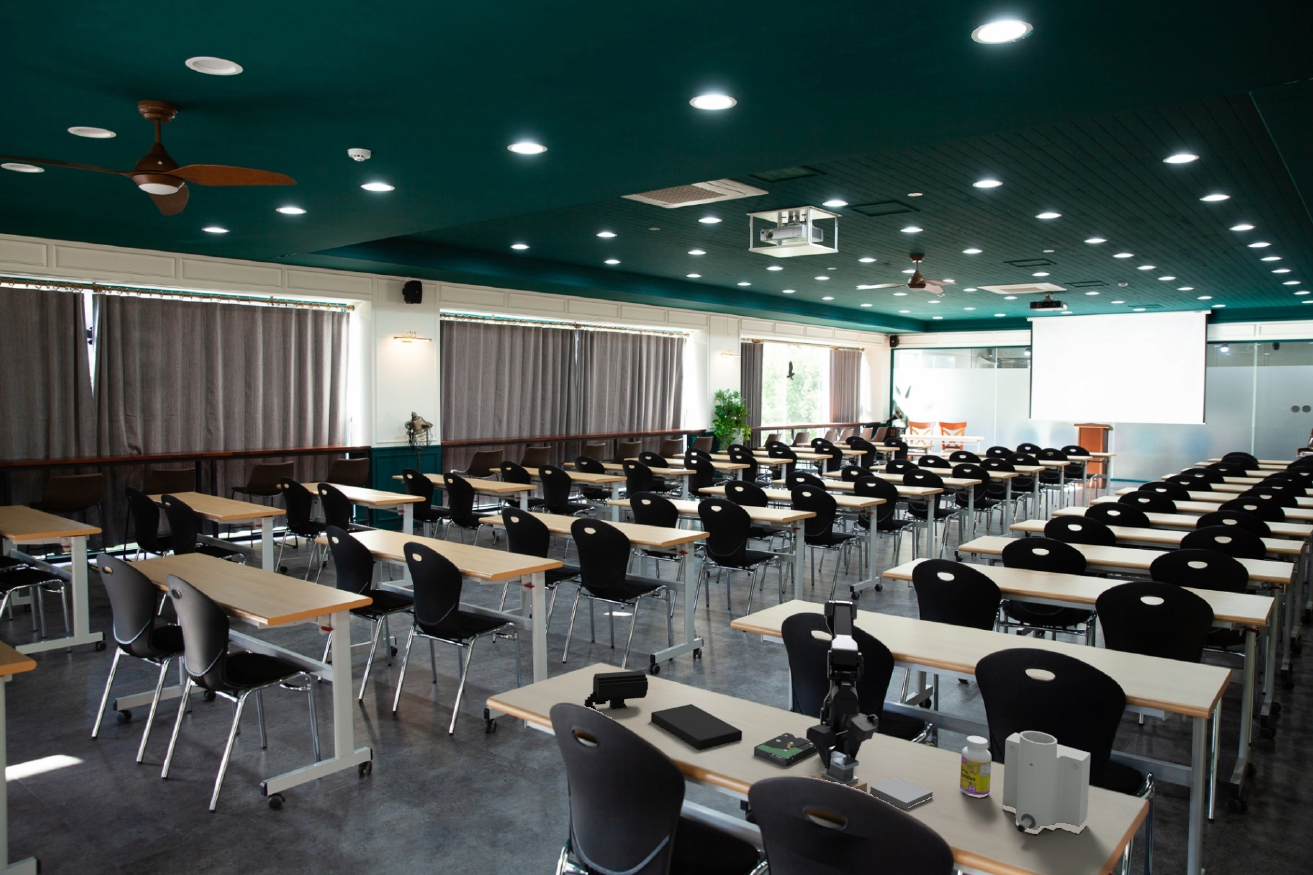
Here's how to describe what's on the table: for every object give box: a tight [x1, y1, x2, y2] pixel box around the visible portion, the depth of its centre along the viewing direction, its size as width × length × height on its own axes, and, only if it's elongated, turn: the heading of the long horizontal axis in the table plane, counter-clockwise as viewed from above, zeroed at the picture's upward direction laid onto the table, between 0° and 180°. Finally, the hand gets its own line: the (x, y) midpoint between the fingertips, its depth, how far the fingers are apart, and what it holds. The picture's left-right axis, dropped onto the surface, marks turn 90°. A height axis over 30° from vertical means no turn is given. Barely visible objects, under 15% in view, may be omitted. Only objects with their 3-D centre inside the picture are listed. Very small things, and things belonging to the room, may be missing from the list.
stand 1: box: [811, 772, 868, 792], centre depth 202 cm, size 10×8×2 cm
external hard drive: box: [650, 703, 743, 751], centre depth 235 cm, size 14×23×3 cm, turn 33°
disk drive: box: [753, 732, 818, 768], centre depth 221 cm, size 10×3×15 cm
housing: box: [820, 751, 860, 786], centre depth 202 cm, size 7×5×5 cm
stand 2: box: [869, 775, 934, 810], centre depth 199 cm, size 10×10×2 cm
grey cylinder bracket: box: [1002, 730, 1091, 834], centre depth 185 cm, size 16×19×20 cm
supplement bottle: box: [959, 735, 992, 795], centre depth 201 cm, size 7×7×13 cm
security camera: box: [583, 670, 649, 711], centre depth 250 cm, size 7×18×10 cm, turn 107°
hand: (840, 764), depth 202 cm, fingers open, 9 cm apart
